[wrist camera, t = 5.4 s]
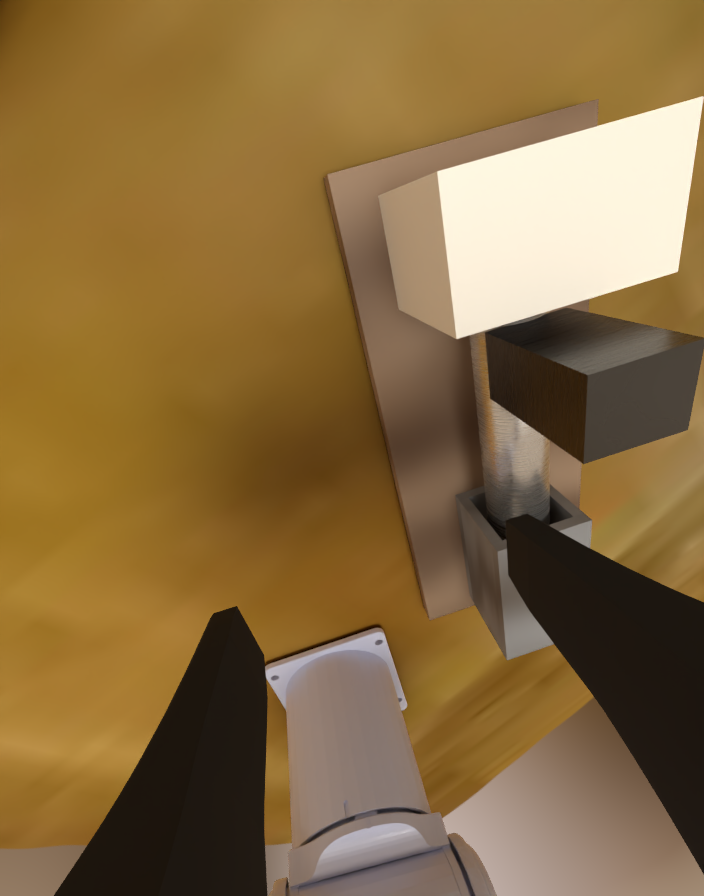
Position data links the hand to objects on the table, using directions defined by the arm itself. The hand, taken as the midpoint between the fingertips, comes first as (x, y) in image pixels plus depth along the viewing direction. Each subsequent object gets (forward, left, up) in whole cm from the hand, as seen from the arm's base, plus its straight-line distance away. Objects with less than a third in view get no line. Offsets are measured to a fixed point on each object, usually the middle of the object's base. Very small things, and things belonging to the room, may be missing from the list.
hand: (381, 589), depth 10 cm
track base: (-2, -8, -10) cm, 13 cm away
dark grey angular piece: (0, -8, -8) cm, 11 cm away
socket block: (+7, -8, -10) cm, 14 cm away
